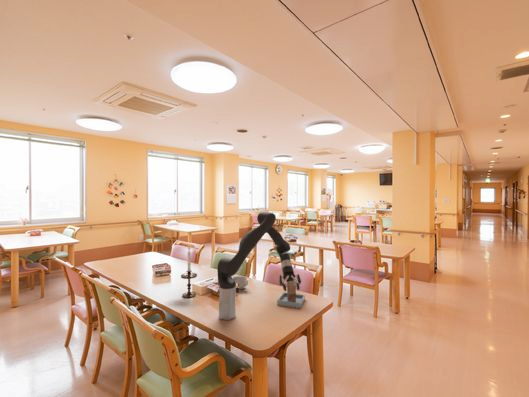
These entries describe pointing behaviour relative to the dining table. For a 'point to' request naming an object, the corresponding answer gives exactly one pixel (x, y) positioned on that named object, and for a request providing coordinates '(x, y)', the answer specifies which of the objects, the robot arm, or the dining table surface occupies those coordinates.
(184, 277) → the candlestick
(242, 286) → the teacup
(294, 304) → the candle dish
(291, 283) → the wick block
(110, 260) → the dining table surface
